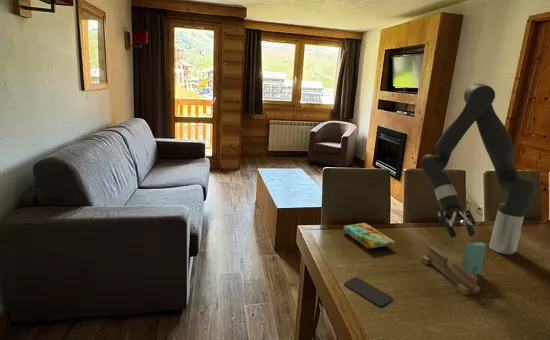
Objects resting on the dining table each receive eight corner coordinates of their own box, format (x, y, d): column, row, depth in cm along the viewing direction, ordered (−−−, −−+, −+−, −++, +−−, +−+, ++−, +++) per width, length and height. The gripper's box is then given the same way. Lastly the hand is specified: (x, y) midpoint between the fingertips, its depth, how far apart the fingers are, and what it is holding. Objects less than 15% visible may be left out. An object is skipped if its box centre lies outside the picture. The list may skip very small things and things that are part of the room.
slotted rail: (433, 259, 131) (436, 245, 129) (478, 292, 110) (482, 277, 109) (420, 260, 130) (423, 246, 128) (463, 294, 109) (467, 278, 107)
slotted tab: (474, 270, 124) (481, 242, 121) (479, 274, 122) (486, 245, 119) (460, 272, 123) (466, 243, 120) (465, 275, 120) (472, 246, 117)
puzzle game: (364, 221, 154) (395, 239, 137) (363, 230, 155) (393, 249, 138) (343, 224, 150) (372, 243, 132) (342, 233, 151) (371, 254, 133)
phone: (355, 276, 116) (394, 297, 104) (355, 278, 116) (393, 300, 105) (342, 283, 111) (381, 306, 100) (342, 285, 111) (380, 309, 100)
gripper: (438, 194, 128) (454, 234, 120) (468, 193, 132) (486, 232, 124) (426, 202, 134) (441, 240, 127) (456, 201, 138) (471, 238, 130)
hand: (463, 236), depth 125 cm, fingers open, 8 cm apart
